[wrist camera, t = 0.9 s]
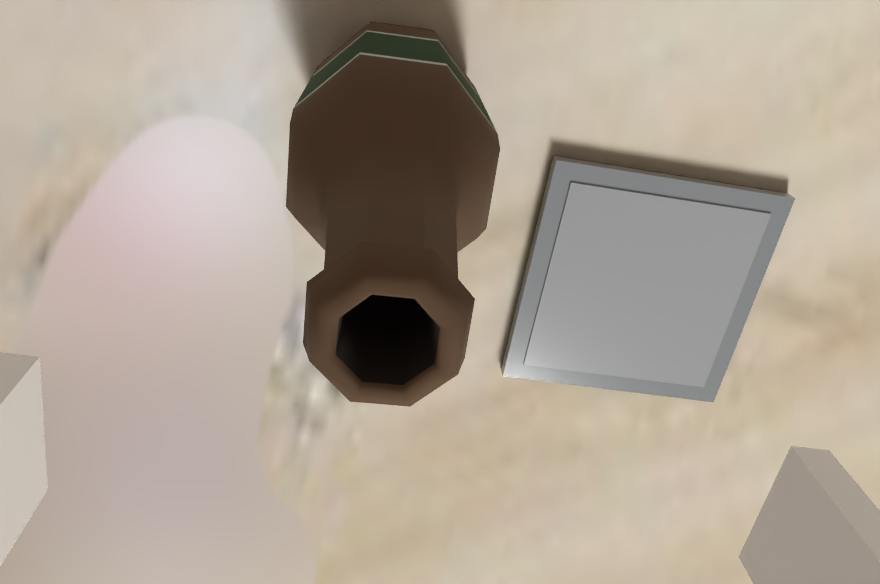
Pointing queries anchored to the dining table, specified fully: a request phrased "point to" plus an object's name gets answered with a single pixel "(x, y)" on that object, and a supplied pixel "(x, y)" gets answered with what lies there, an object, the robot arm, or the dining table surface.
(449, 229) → the beer bottle
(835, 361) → the dining table surface
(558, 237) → the plate
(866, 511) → the robot arm
